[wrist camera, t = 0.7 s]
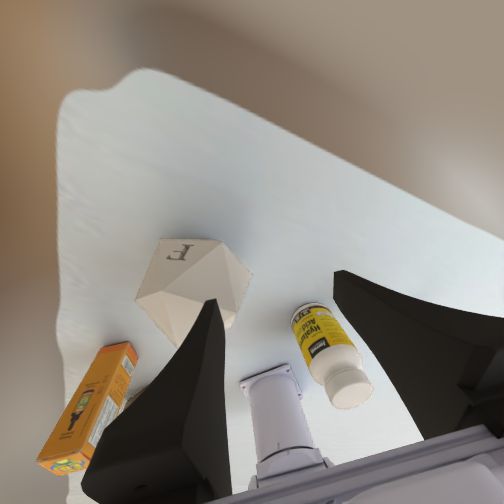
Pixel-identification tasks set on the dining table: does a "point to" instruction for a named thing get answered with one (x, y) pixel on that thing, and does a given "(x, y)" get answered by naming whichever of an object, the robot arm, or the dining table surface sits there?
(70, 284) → the dining table surface
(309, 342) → the supplement bottle
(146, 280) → the die
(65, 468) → the supplement box
